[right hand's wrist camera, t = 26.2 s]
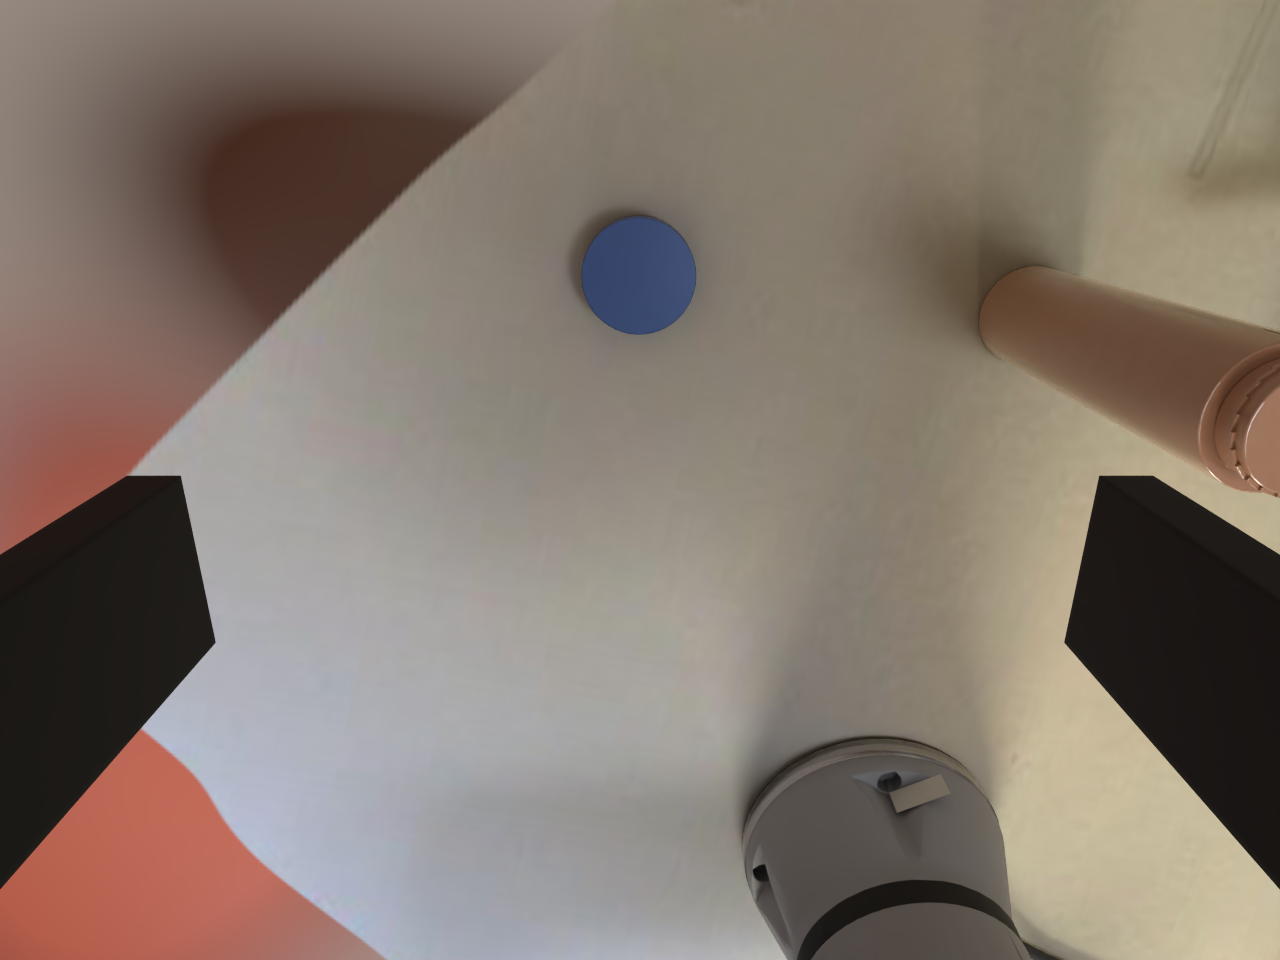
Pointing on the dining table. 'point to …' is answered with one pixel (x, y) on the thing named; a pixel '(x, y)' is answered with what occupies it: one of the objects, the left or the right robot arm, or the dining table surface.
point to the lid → (638, 275)
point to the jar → (1148, 368)
